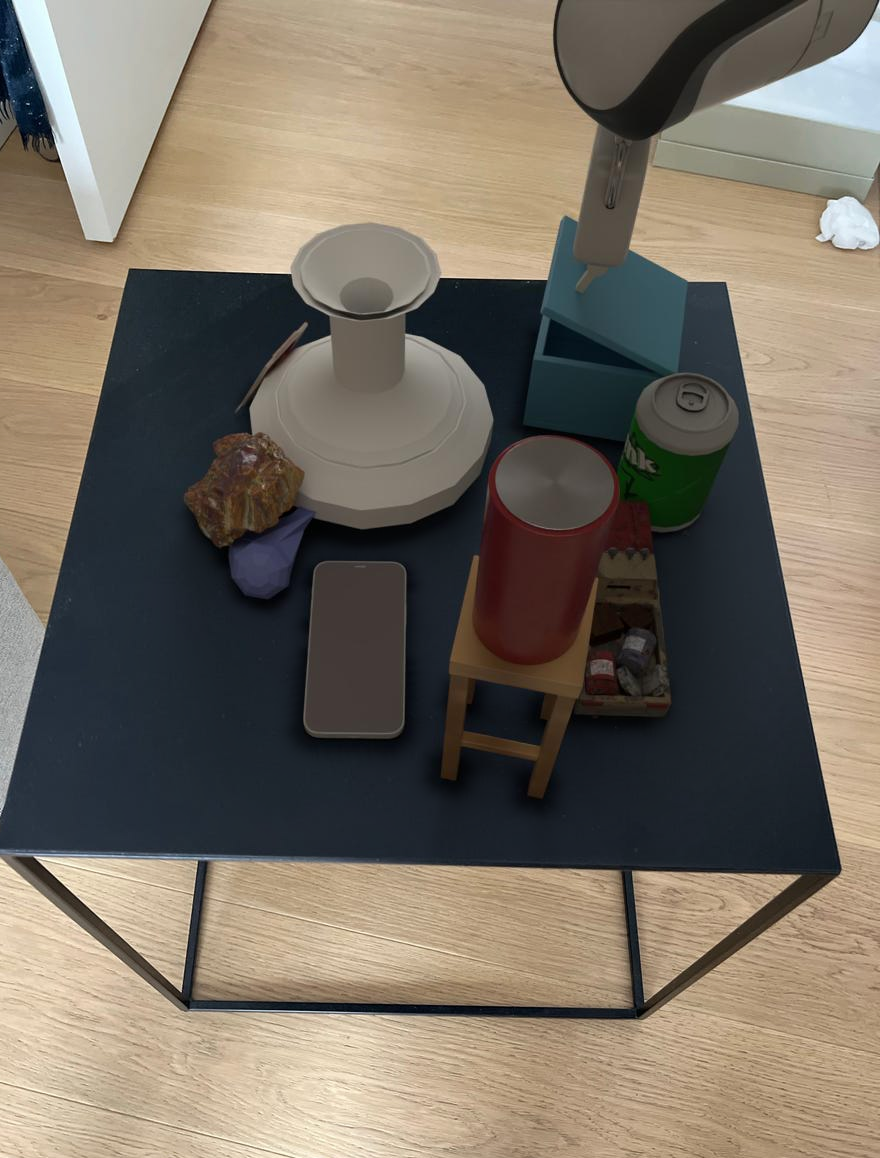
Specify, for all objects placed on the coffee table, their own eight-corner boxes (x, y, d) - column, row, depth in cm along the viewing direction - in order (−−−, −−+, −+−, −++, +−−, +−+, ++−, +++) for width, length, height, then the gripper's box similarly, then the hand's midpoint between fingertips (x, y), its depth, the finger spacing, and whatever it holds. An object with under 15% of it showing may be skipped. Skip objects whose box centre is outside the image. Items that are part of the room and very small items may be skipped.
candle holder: (486, 556, 80) (509, 381, 63) (240, 544, 80) (199, 366, 64) (490, 378, 90) (511, 186, 73) (272, 368, 91) (243, 175, 74)
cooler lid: (539, 313, 77) (568, 273, 73) (560, 221, 82) (588, 179, 79) (671, 380, 79) (706, 345, 76) (682, 287, 85) (715, 249, 81)
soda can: (707, 482, 84) (751, 378, 74) (691, 550, 80) (734, 450, 70) (620, 460, 85) (651, 354, 75) (600, 526, 82) (630, 424, 71)
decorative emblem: (314, 325, 89) (247, 410, 92) (311, 322, 89) (243, 407, 92) (302, 324, 79) (227, 420, 82) (299, 321, 79) (223, 417, 82)
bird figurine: (201, 578, 74) (218, 557, 80) (268, 618, 75) (280, 595, 81) (253, 489, 72) (267, 475, 78) (322, 532, 73) (330, 515, 79)
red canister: (586, 584, 58) (627, 444, 48) (572, 675, 55) (613, 545, 45) (482, 565, 59) (500, 423, 48) (463, 653, 56) (478, 521, 45)
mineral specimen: (228, 412, 81) (261, 481, 85) (149, 459, 78) (187, 529, 82) (298, 439, 72) (332, 516, 76) (211, 494, 69) (251, 570, 73)
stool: (558, 707, 73) (598, 577, 58) (543, 800, 69) (582, 686, 55) (458, 687, 74) (473, 554, 59) (438, 778, 70) (449, 660, 55)
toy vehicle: (638, 534, 81) (660, 472, 75) (661, 732, 72) (687, 682, 65) (554, 531, 81) (568, 470, 75) (565, 729, 72) (582, 679, 65)
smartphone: (301, 733, 71) (313, 560, 78) (302, 738, 72) (314, 567, 79) (404, 734, 71) (406, 561, 78) (404, 739, 72) (406, 568, 79)
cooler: (522, 425, 87) (533, 359, 81) (541, 336, 93) (552, 268, 86) (652, 446, 86) (673, 381, 79) (663, 355, 92) (684, 288, 85)
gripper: (675, 157, 59) (627, 336, 71) (698, -17, 69) (653, 165, 81) (570, 142, 60) (540, 322, 71) (608, -28, 70) (576, 154, 82)
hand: (600, 237), depth 76 cm, fingers closed, pressing on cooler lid
